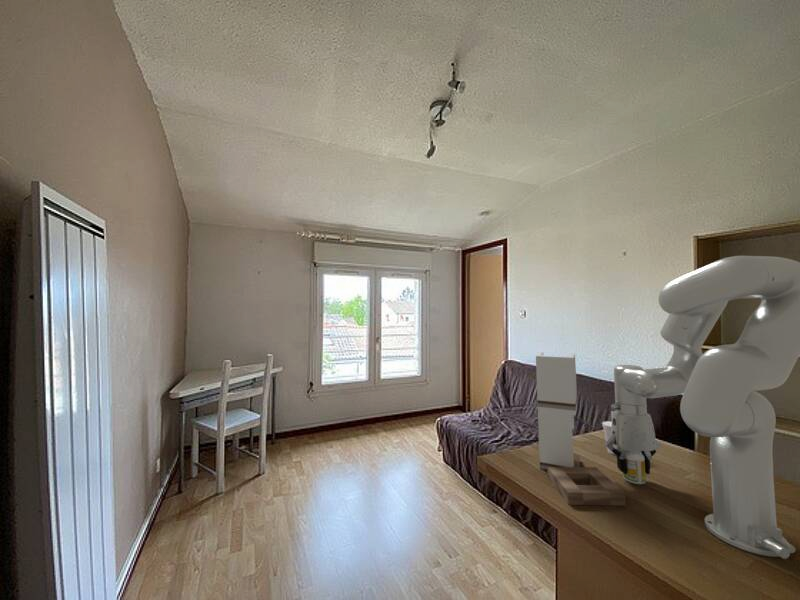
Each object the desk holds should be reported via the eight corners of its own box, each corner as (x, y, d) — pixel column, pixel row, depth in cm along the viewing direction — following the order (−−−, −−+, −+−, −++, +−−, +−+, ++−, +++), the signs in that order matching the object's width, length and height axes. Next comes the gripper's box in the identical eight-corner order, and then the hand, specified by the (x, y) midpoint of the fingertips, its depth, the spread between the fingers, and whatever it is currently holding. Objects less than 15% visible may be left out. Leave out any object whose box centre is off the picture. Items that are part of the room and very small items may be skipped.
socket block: (625, 505, 83) (625, 493, 83) (568, 504, 84) (568, 492, 84) (596, 477, 97) (596, 467, 97) (547, 477, 98) (547, 466, 98)
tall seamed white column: (578, 476, 98) (573, 357, 100) (539, 468, 104) (535, 356, 105) (579, 461, 108) (575, 353, 110) (544, 454, 114) (540, 352, 115)
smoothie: (625, 451, 115) (623, 410, 116) (625, 458, 110) (623, 415, 110) (603, 447, 119) (601, 407, 119) (603, 454, 113) (601, 412, 114)
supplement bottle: (638, 475, 98) (636, 442, 98) (650, 485, 93) (648, 449, 93) (619, 475, 98) (617, 442, 99) (629, 484, 93) (628, 449, 94)
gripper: (607, 412, 93) (610, 477, 92) (671, 412, 92) (674, 478, 91) (593, 404, 101) (596, 465, 100) (652, 404, 100) (655, 466, 99)
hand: (633, 471), depth 96 cm, fingers closed on supplement bottle, 5 cm apart
